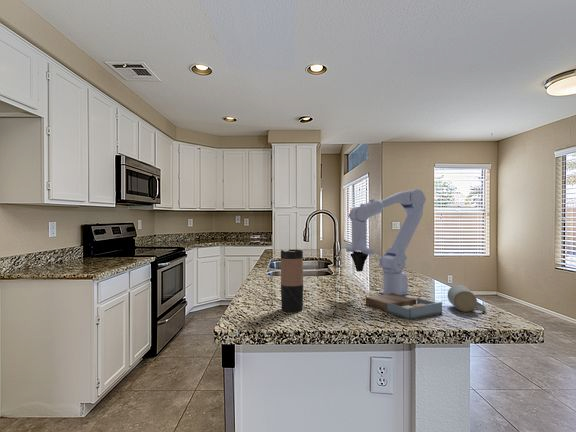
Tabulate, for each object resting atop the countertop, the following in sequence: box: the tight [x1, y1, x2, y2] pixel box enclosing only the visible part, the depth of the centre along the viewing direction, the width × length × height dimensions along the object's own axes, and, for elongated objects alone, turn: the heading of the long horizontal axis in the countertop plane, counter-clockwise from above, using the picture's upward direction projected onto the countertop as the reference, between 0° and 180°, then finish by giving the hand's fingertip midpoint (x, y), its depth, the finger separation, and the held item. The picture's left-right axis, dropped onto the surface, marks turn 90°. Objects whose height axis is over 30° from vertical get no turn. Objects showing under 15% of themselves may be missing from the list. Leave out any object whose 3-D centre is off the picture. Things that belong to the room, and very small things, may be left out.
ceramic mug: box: [447, 284, 487, 313], centre depth 109 cm, size 11×8×8 cm
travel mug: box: [280, 249, 304, 313], centre depth 111 cm, size 8×8×20 cm
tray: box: [386, 297, 443, 320], centre depth 106 cm, size 14×9×4 cm, turn 117°
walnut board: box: [365, 293, 417, 312], centre depth 115 cm, size 13×11×2 cm
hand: (359, 271), depth 129 cm, fingers closed
